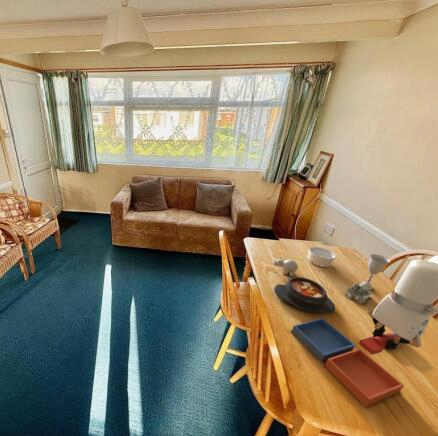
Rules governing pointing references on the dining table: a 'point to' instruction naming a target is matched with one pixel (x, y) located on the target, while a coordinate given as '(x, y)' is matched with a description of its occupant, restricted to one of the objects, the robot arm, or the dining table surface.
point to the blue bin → (322, 339)
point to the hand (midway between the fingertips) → (382, 342)
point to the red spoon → (376, 343)
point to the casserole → (305, 295)
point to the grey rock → (358, 293)
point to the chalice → (374, 268)
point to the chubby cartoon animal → (287, 266)
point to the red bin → (363, 376)
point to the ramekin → (320, 260)
